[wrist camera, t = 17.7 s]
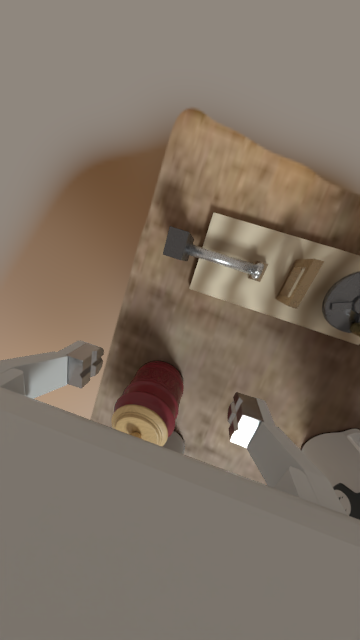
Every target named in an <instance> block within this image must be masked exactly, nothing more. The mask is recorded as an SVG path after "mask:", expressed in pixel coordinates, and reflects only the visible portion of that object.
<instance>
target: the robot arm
mask: <svg viewBox="0 0 360 640" xmlns="http://www.w3.org/2000/svg"><path fill="white" fill-rule="evenodd" d="M103 352H104V350H103V348H101V347H98V346H95V345H92V344H89V343H86V342H83V341H77V342H75V343H73V344H72V345H69V346H68V347H66V348H64V349H62V350H60V351H58V352H49V353H43V354H37V355H31V356H25V357H19V358H13V359H7V360H1V361H0V640H360V430H359V429H350V430H347V431H344V432H339V433H326V434H322V435H318V436H316V437H314V438H312V439H310V440H309V441H308V442H306V443H305V445H304V446H303V448H302V451H301V450H300V449H299V448H298V447H297V446H296V445H295V444H294V443H293V442H292V441H291V440H290V439H289V438H288V437H287V436H286V435H285V433H284V432H283V431H282V430H281V429H280V428H279V427H276V426H275V424H274V421H273V419H272V416H271V414H270V411H269V409H268V406H267V404H266V402H265V401H264V400H262V399H258V398H254V397H251V396H248V395H244V394H241V393H238V392H236V393H235V395H234V397H233V398H234V402H232V403H231V404H230V406H229V410H228V422H229V423H230V427H229V435H230V441H232V442H234V443H237V444H239V445H242V446H245V447H247V450H248V452H249V453H250V455H251V457H252V459H253V460H254V462H255V464H256V466H257V467H258V469H259V471H260V472H261V474H262V476H263V478H264V479H265V481H266V483H267V485H268V486H267V485H264V484H262V483H259V482H256V481H254V480H251V479H248V478H245V477H243V476H240V475H237V474H235V473H232V472H229V471H227V470H224V469H221V468H218V467H216V466H213V465H210V464H208V463H205V462H202V461H200V460H197V459H194V458H192V457H189V456H186V455H183V454H181V453H178V452H175V451H173V450H170V449H167V448H165V447H162V446H159V445H157V444H154V443H151V442H148V441H146V440H143V439H140V438H138V437H135V436H132V435H130V434H127V433H124V432H121V431H119V430H116V429H113V428H111V427H108V426H105V425H103V424H100V423H97V422H94V421H92V420H89V419H86V418H84V417H81V416H78V415H76V414H73V413H70V412H67V411H65V410H62V409H59V408H57V407H54V406H51V405H49V404H46V403H43V402H40V401H38V400H35V399H33V398H36V397H38V396H40V395H43V394H46V393H48V392H50V391H53V390H55V389H58V388H60V387H63V386H65V385H67V384H69V385H73V386H76V387H79V388H82V387H84V385H86V384H87V383H88V382H89V381H90V377H92V376H95V375H96V374H97V373H98V372H99V371H100V369H101V367H102V363H103V360H102V358H101V356H102V355H103Z"/></svg>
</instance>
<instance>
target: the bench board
mask: <svg viewBox="0 0 360 640" xmlns="http://www.w3.org/2000/svg"><path fill="white" fill-rule="evenodd" d="M202 248H205V249H208V250H212V251H215V252H218V253H221V254H224V255H228V256H231V257H234V258H237V259H240V260H243V261H247V262H250V263H253V264H257V263H263V264H264V269H263V271H262V273H261V275H260V277H259V278H258V279H253V278H252V276H251V275H250V274H247V273H244V272H241V271H238V270H235V269H231V268H228V267H225V266H222V265H219V264H216V263H213V262H209V261H206V260H203V259H200V258H199V260H198V263H197V266H196V269H195V272H194V276H193V279H192V282H191V285H190V288H189V289H192V290H195V291H198V292H201V293H204V294H207V295H210V296H213V297H216V298H219V299H222V300H225V301H228V302H231V303H234V304H237V305H240V306H243V307H246V308H249V309H252V310H255V311H258V312H261V313H264V314H267V315H270V316H273V317H276V318H279V319H282V320H285V321H288V322H291V323H294V324H297V325H300V326H303V327H306V328H309V329H311V330H314V331H317V332H320V333H323V334H326V335H329V336H332V337H335V338H338V339H341V340H344V341H347V342H350V343H353V344H356V345H359V344H360V337H359V336H357V335H355V334H353V333H346V332H343V331H340V330H338V329H336V328H334V327H333V326H331V325H330V324H329V323H328V322H327V321H326V320H325V318H324V316H323V312H322V304H323V300H324V297H325V295H326V293H327V292H328V290H329V289H330V288H331V287H332V286H333V285H334V284H335V283H336V282H337V281H338V280H340V279H341V278H343V277H345V276H347V275H349V274H352V273H355V272H358V271H360V255H356V254H353V253H350V252H346V251H343V250H339V249H336V248H333V247H329V246H326V245H322V244H319V243H316V242H312V241H309V240H306V239H302V238H299V237H295V236H292V235H289V234H285V233H282V232H279V231H275V230H272V229H268V228H265V227H262V226H258V225H255V224H251V223H248V222H245V221H241V220H238V219H235V218H231V217H228V216H224V215H221V214H218V213H213V216H212V219H211V222H210V225H209V228H208V232H207V235H206V238H205V241H204V244H203V247H202ZM298 259H318V260H321V261H324V263H323V265H322V267H321V268H320V270H319V272H318V274H317V275H316V277H315V279H314V280H313V282H312V284H311V286H310V287H309V289H308V291H307V292H306V294H305V296H304V298H303V299H302V301H301V303H300V305H299V306H298V308H297V309H295V308H292V307H289V306H287V305H285V304H283V303H281V302H280V301H278V300H276V297H277V295H278V293H279V291H280V289H281V287H282V285H283V283H284V281H285V279H286V278H287V276H288V274H289V272H290V270H291V268H292V266H293V264H294V262H295V260H298ZM304 270H305V269H302V271H301V272H300V274H299V276H298V278H297V280H296V282H295V283H294V285H293V287H292V289H291V291H290V293H289V295H288V297H290V296H291V294H292V292H293V290H294V288H295V287H296V285H297V283H298V281H299V279H300V278H301V276H302V274H303V272H304Z"/></svg>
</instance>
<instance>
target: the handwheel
mask: <svg viewBox="0 0 360 640" xmlns="http://www.w3.org/2000/svg"><path fill="white" fill-rule="evenodd" d="M322 312H323V316H324V318H325V320H326V321H327V322H328V323H329V324H330V325H331V326H333V327H334V328H336V329H338V330H340V331H343V332H346V333H353V334H355V335H357V336H359V337H360V271H358V272H355V273H352V274H349V275H347V276H345V277H343V278H341V279H340V280H338V281H337V282H336V283H335V284H334V285H333V286H332V287H331V288H330V289H329V290H328V292H327V293H326V295H325V297H324V300H323V304H322Z"/></svg>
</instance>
